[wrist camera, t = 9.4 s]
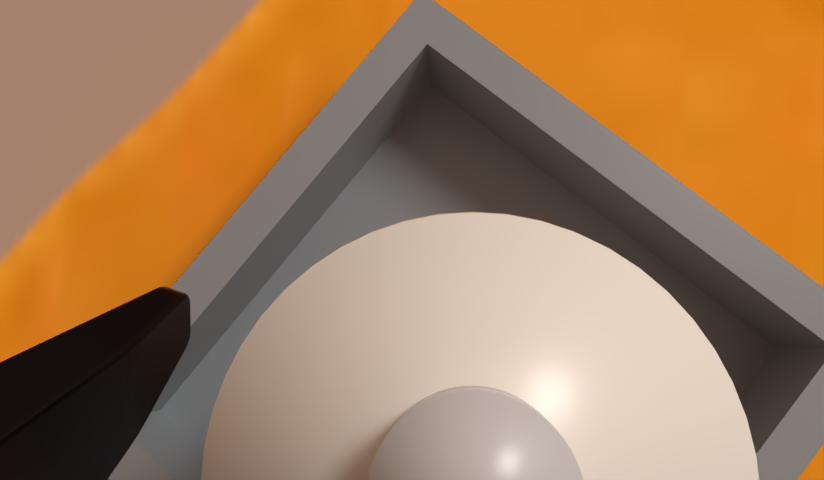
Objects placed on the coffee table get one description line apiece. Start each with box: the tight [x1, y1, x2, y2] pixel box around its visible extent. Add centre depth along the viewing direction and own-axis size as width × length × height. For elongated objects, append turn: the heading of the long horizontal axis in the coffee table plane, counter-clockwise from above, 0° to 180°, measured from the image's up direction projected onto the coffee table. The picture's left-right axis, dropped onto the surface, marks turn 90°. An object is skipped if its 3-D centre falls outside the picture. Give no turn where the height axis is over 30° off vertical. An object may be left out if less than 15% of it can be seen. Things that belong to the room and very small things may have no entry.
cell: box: [201, 212, 759, 480], centre depth 12 cm, size 5×5×14 cm
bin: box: [108, 0, 824, 480], centre depth 18 cm, size 14×14×4 cm
